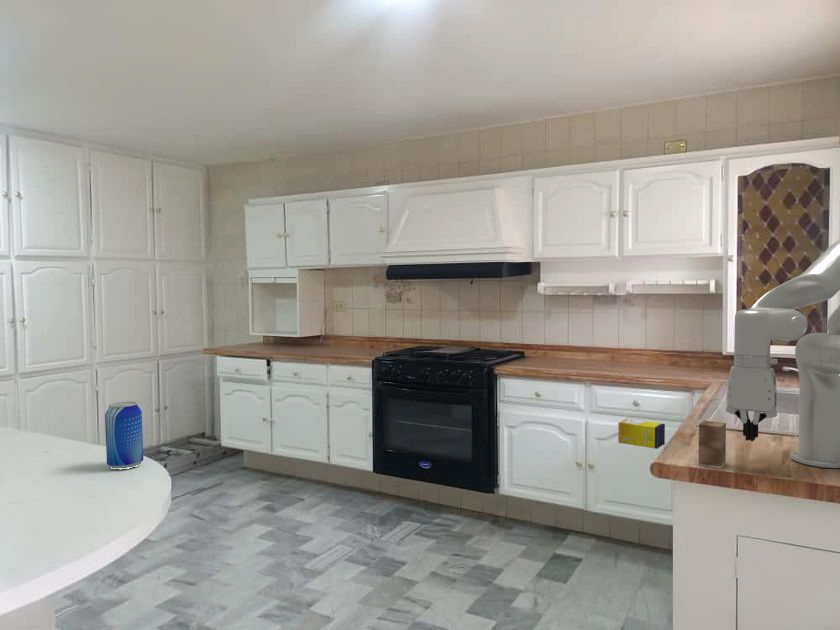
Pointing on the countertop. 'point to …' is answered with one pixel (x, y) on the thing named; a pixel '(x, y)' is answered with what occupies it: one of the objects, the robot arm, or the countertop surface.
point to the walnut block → (712, 444)
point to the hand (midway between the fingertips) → (750, 439)
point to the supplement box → (641, 433)
